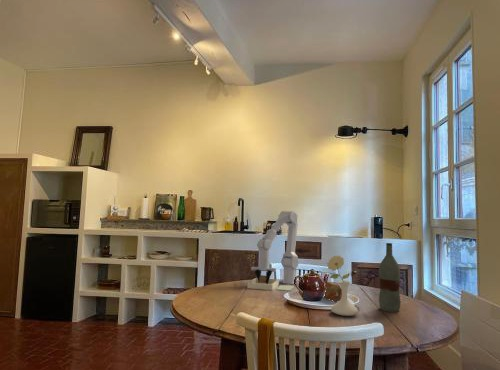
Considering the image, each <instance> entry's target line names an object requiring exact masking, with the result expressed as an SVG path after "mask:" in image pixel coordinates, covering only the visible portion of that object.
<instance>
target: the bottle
mask: <svg viewBox="0 0 500 370" xmlns="http://www.w3.org/2000/svg"><path fill="white" fill-rule="evenodd" d="M385 246H386V247H385V248H386V249H385V250H386V251H385V254H386V255H385V256H384V258H383V259H382V260H381V262H380V263H379V267H378V277H379V278H378V279H379V294H378V295H379V296H378V304H379V308H380V310H381V311H384V312H389V313H396V312H399V311H400V308H401V295H400V281H401V280H400V279H401V269H400V265H399V263H398V262H397V260H396V259H395V257H394V255H393V242H386V243H385Z"/></svg>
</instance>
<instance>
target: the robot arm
mask: <svg viewBox="0 0 500 370" xmlns="http://www.w3.org/2000/svg"><path fill="white" fill-rule="evenodd" d="M298 218H299V217H298V214H297V212H295V210H294V211H293V210H291V211H290V210H288V211H287V210H282V211H281V212H280V213H279V214H278V218H277V219H276V221H275V222H274V224H273V226H272V227H271V228H270V229H267V230H266V233H265V234H264V235H263V236H262V238H261V239H259V240H258V241H257V243H256V246H257V249H258V266H251V271H255V272H254V273H255V275H256V278H258V283H259V276H261V275H262V272H265V276H266V284H268V282H269V279H271V275H272V273H277V267H270V266H269V264H270V261H269V260H270V249H271V247H272V244H273V241H274V240H275V238H276V237H277V233H278V231H279V230H280V229H281V227H283V225H284V224H285V225H287V227H288V230H287V237H286V238H287V239H286V248H285V252H284V253H283V254H282V258H281V261H280V263H281V265H282V268H283V281H282V282H281V284H286V285H295V284H294V279H295V277H296V278H297V272H296V271H297V270H296V269H297V268H298V265H299V256H298V255H297V254H296V246H297V245H296V243H297V236H298V235H297V233H298Z"/></svg>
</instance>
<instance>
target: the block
mask: <svg viewBox="0 0 500 370" xmlns="http://www.w3.org/2000/svg"><path fill="white" fill-rule="evenodd" d="M259 283H261V284H266V275H262V274H261V276H259Z"/></svg>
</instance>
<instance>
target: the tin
mask: <svg viewBox="0 0 500 370" xmlns="http://www.w3.org/2000/svg"><path fill="white" fill-rule="evenodd" d="M326 282H327V289H326V292H325V296H324V298H326V299H325V300H327V299H330V300H333V301H337V302H338V301H340V300H341V297H342V289H341V285H340V284H336V283H333V282H330V281H326ZM324 298H323V299H324ZM330 300H329V301H330ZM333 301H332V302H333Z"/></svg>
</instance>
